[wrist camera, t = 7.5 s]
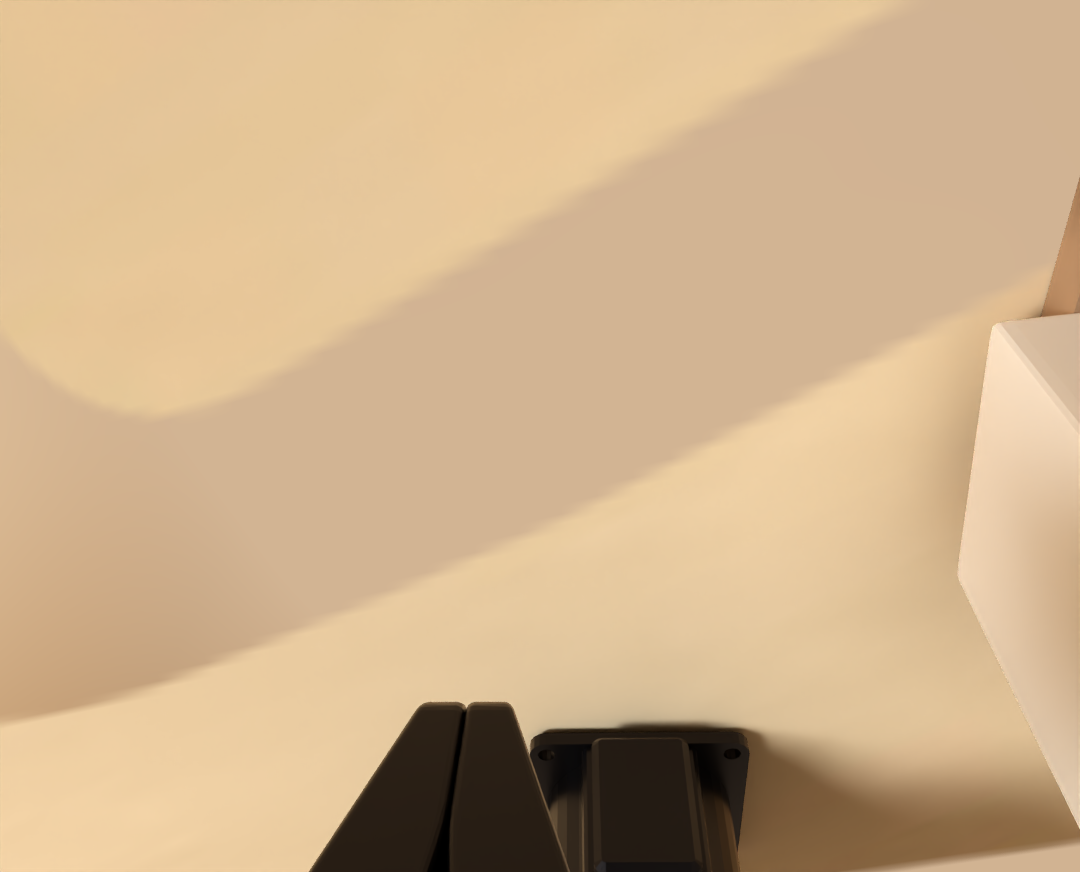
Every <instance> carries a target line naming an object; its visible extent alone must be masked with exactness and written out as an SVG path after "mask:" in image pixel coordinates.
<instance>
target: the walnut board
mask: <svg viewBox="0 0 1080 872" xmlns="http://www.w3.org/2000/svg"><path fill="white" fill-rule="evenodd" d="M1074 313H1080V179H1079V182H1078V186H1077V189H1076V193H1075V196H1074V200H1073V204H1072V208H1071V211H1070V215H1069V218H1068V222H1067V225H1066V229H1065V232H1064V236H1063V240H1062V243H1061V247H1060V250H1059V254H1058V257H1057V261H1056V265H1055V268H1054V272H1053V275H1052V279H1051V283H1050V286H1049V290H1048V293H1047V297H1046V300H1045V304H1044V308H1043V311H1042V315H1041V317H1046V316H1055V315H1065V314H1074Z"/></svg>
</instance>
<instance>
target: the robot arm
mask: <svg viewBox="0 0 1080 872" xmlns="http://www.w3.org/2000/svg"><path fill="white" fill-rule="evenodd" d="M748 761H749V749H748V744H747V738H746V737H745V736H744V735H742V734H740V733H737V732H653V733H545V734H539V735H537V736H535V737H534V738H533V739H532V740H531V743H530V755H529V752H528V749H527V746H526V744H525V741H524V738H523V735H522V732H521V729H520V726H519V723H518V720H517V718H516V715H515V712H514V709H513V707H512V706H511V705H510V704H509V703H507V702H474V703H471V704H469V705H468V707H467V709H466V707H465V705H464V704H462V703H459V702H427V703H424V704H422V705H421V706H419V708H418V709H417V710H416V711H415V713H414V714H413V716H412V717H411V719H410V720H409V722H408V723H407V725H406V726H405V728H404V729H403V731H402V732H401V734H400V735H399V737H398V738H397V740H396V741H395V743H394V744H393V746H392V747H391V749H390V750H389V752H388V753H387V755H386V756H385V758H384V759H383V761H382V762H381V764H380V765H379V767H378V768H377V770H376V771H375V773H374V774H373V776H372V777H371V779H370V780H369V782H368V783H367V785H366V786H365V788H364V789H363V791H362V792H361V794H360V796H359V797H358V799H357V800H356V802H355V803H354V805H353V806H352V808H351V809H350V811H349V812H348V814H347V815H346V817H345V818H344V820H343V821H342V823H341V824H340V826H339V827H338V829H337V830H336V832H335V833H334V835H333V836H332V838H331V839H330V841H329V842H328V844H327V845H326V847H325V848H324V850H323V851H322V853H321V854H320V856H319V857H318V859H317V860H316V862H315V863H314V865H313V866H312V868H311V869H310V871H309V872H740V866H739V860H738V853H737V852H738V844H739V836H740V827H741V819H742V811H743V802H744V794H745V786H746V778H747V769H748Z"/></svg>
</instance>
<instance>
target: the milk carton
mask: <svg viewBox="0 0 1080 872" xmlns="http://www.w3.org/2000/svg"><path fill="white" fill-rule="evenodd" d="M958 579H959V582H960V584H961V586H962V588H963V590H964V592H965V594H966V596H967V598H968V601H969V603H970V605H971V607H972V609H973V611H974V613H975V615H976V617H977V619H978V621H979V624H980V626H981V628H982V630H983V632H984V634H985V636H986V638H987V640H988V642H989V644H990V646H991V648H992V650H993V653H994V655H995V657H996V659H997V661H998V663H999V665H1000V667H1001V669H1002V671H1003V673H1004V675H1005V677H1006V679H1007V681H1008V683H1009V686H1010V688H1011V690H1012V692H1013V694H1014V696H1015V698H1016V700H1017V702H1018V704H1019V706H1020V708H1021V710H1022V712H1023V714H1024V716H1025V718H1026V721H1027V723H1028V725H1029V727H1030V729H1031V731H1032V733H1033V735H1034V737H1035V739H1036V741H1037V743H1038V745H1039V747H1040V749H1041V751H1042V753H1043V755H1044V758H1045V760H1046V762H1047V764H1048V766H1049V768H1050V770H1051V772H1052V774H1053V776H1054V778H1055V780H1056V782H1057V784H1058V786H1059V788H1060V790H1061V792H1062V794H1063V796H1064V798H1065V800H1066V802H1067V804H1068V806H1069V809H1070V811H1071V813H1072V815H1073V817H1074V819H1075V821H1076V823H1077V825H1078V827H1079V829H1080V313H1074V314H1065V315H1055V316H1046V317H1037V318H1028V319H1019V320H1010V321H1004V322H999V323H997V324H995V325H994V326H993V327H992V331H991V336H990V342H989V348H988V355H987V361H986V368H985V376H984V383H983V390H982V397H981V404H980V412H979V419H978V426H977V433H976V440H975V447H974V455H973V462H972V469H971V476H970V483H969V491H968V498H967V505H966V512H965V519H964V526H963V534H962V541H961V548H960V556H959V564H958Z"/></svg>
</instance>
